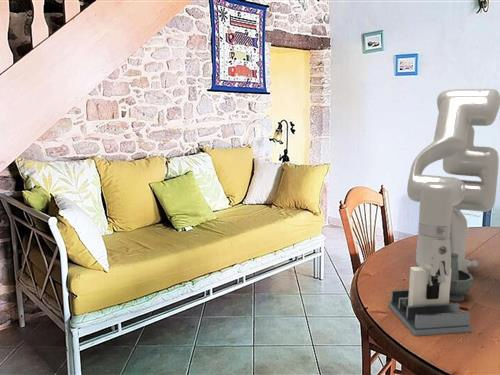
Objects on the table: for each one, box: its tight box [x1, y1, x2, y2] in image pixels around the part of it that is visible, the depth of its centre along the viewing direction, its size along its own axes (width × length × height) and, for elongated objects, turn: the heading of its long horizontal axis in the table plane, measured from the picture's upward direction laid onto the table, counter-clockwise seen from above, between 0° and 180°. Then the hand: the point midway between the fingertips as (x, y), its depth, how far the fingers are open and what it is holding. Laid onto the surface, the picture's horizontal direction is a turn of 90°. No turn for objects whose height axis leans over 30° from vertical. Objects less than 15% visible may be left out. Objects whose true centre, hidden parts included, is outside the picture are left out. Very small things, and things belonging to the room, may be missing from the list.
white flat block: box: [408, 266, 452, 306], centre depth 117 cm, size 2×10×12 cm, turn 96°
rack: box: [388, 288, 473, 337], centre depth 118 cm, size 16×15×5 cm
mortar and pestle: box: [449, 253, 474, 302], centre depth 131 cm, size 11×9×12 cm
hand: (429, 295), depth 118 cm, fingers closed on white flat block, 2 cm apart
